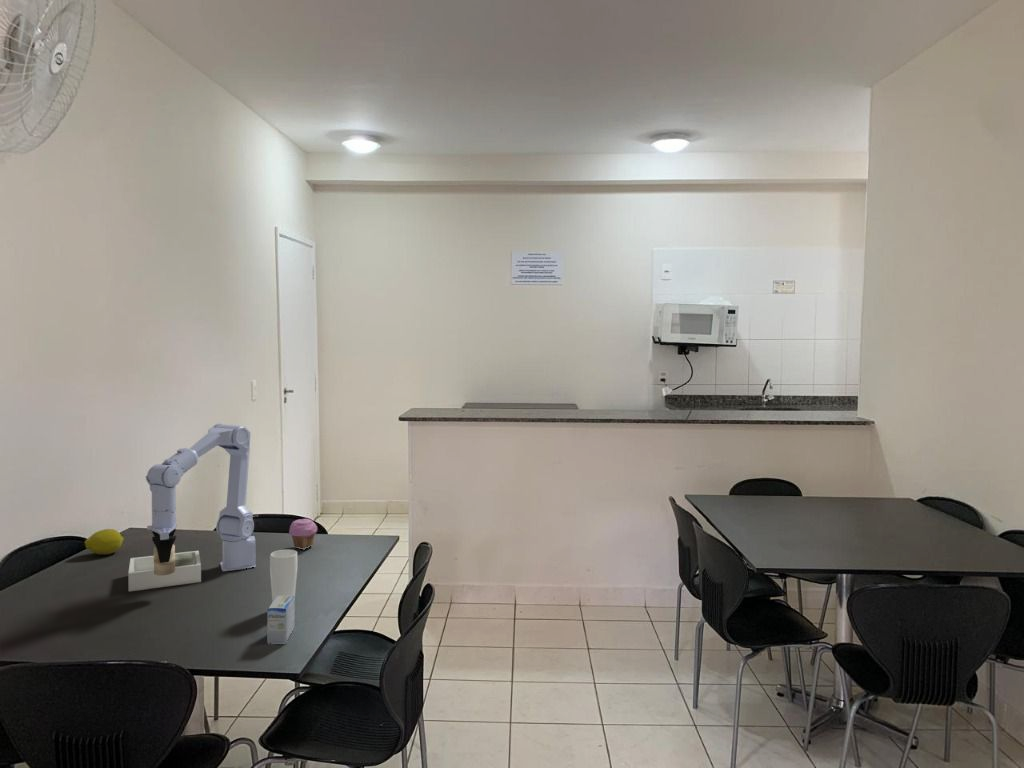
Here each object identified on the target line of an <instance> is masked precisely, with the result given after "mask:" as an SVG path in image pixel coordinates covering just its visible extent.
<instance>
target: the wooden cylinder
mask: <svg viewBox="0 0 1024 768" xmlns="http://www.w3.org/2000/svg"><path fill="white" fill-rule="evenodd" d="M175 553H176V545H175V544H174V543H173V546H172V549H171V555H170V560H169V562H164V563H160V561H159V557H158V552H157V548H156V546H153V556H154V574H155V575H168V574H172V573H174V572H175Z"/></svg>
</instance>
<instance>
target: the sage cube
mask: <svg viewBox="0 0 1024 768" xmlns="http://www.w3.org/2000/svg"><path fill="white" fill-rule="evenodd" d="M186 565H192V553H189V554H181V555H175V567H178V566H186Z"/></svg>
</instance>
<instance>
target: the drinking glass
mask: <svg viewBox="0 0 1024 768" xmlns="http://www.w3.org/2000/svg"><path fill="white" fill-rule="evenodd" d="M298 559H299V558H298V551H297V550H295V549H278V550H274V551H273V552H271V553H270V555H269V575H270V576H269V577H270V586H271V587H270V588H271V600H272V602H273V601H274V599H275V598H276V597H277V596H295V597H296V587H297V576H298V563H299V562H298Z"/></svg>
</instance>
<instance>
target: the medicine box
mask: <svg viewBox="0 0 1024 768" xmlns="http://www.w3.org/2000/svg"><path fill="white" fill-rule="evenodd" d="M295 604H296V595H295V596H277V597H276V598H275V599H274V601H273V600H272V603H271V604H270V605H269V607H268V608H267V622H266V623H267V625H266V626H267V628H266V630H267V632H266V633H267V635H266V638H267V639H266V643H286V642H287V643H288V641H289V640H288V638H289V636H290V634H291V633H292V634H293V632H294V630H295V625H296V624H295V615H296V614H295V613H296V612H295V611H296V605H295ZM293 629H294V630H293ZM292 631H293V632H292ZM292 634H291V635H292ZM290 637H291V636H290ZM289 639H290V638H289ZM287 640H288V641H287ZM287 643H286V644H287Z"/></svg>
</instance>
